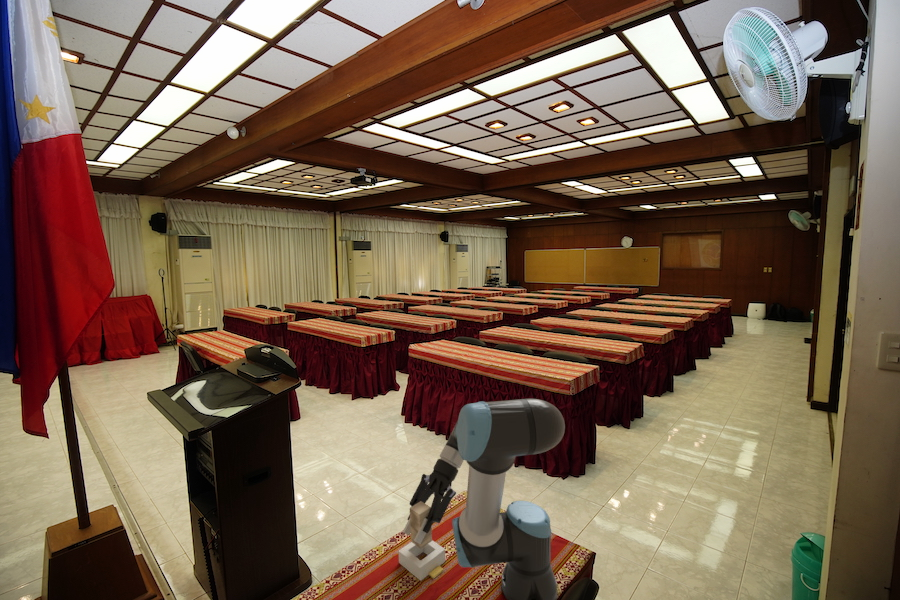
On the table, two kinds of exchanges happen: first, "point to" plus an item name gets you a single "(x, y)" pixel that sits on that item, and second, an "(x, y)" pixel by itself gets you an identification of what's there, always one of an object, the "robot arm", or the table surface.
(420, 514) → the beech peg
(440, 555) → the socket block
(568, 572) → the table surface
